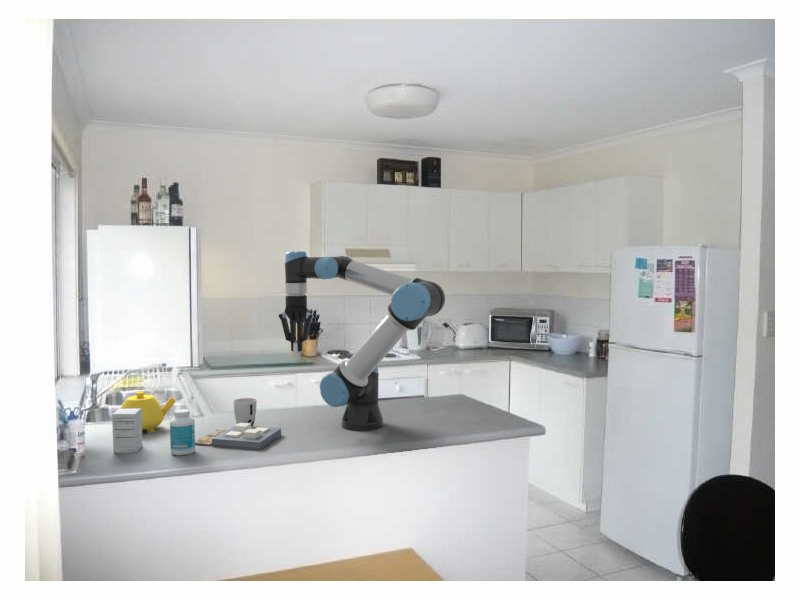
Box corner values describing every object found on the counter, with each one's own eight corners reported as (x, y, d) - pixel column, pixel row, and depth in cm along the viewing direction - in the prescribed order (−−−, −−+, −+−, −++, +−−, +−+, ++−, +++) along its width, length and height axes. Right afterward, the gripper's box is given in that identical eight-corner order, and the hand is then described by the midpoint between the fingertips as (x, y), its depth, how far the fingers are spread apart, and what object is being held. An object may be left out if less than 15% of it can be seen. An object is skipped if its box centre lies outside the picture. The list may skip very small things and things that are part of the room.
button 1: (242, 439, 232) (242, 431, 232) (236, 443, 228) (236, 435, 228) (231, 438, 233) (230, 431, 233) (225, 442, 229) (225, 434, 229)
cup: (251, 431, 245) (250, 403, 244) (230, 430, 247) (229, 402, 246) (260, 425, 253) (260, 398, 252) (239, 424, 254) (239, 397, 254)
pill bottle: (198, 453, 219) (197, 411, 218) (174, 457, 215) (173, 414, 214) (191, 447, 225) (190, 406, 224) (167, 451, 221) (166, 409, 220)
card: (233, 432, 244) (233, 430, 244) (209, 446, 227) (209, 443, 227) (217, 431, 245) (217, 429, 245) (192, 444, 229) (192, 442, 229)
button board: (281, 435, 240) (281, 428, 239) (260, 449, 223) (260, 442, 223) (235, 432, 243) (235, 425, 243) (212, 446, 227) (211, 438, 227)
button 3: (260, 437, 231) (260, 429, 231) (255, 440, 227) (255, 432, 226) (249, 436, 232) (249, 428, 231) (243, 439, 228) (243, 432, 227)
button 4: (269, 435, 237) (268, 428, 237) (263, 438, 233) (263, 431, 233) (257, 434, 238) (257, 427, 238) (252, 438, 234) (252, 430, 234)
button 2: (251, 430, 239) (251, 423, 238) (245, 434, 235) (245, 426, 234) (239, 430, 240) (239, 422, 239) (234, 433, 236) (234, 425, 235)
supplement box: (119, 446, 227) (118, 408, 226) (143, 445, 227) (142, 407, 226) (112, 453, 219) (111, 413, 218) (136, 452, 220) (135, 413, 219)
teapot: (175, 421, 258) (174, 385, 257) (178, 432, 244) (177, 393, 243) (117, 426, 251) (116, 389, 250) (117, 438, 237) (115, 398, 236)
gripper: (317, 294, 249) (317, 359, 251) (283, 293, 252) (283, 358, 254) (309, 295, 241) (310, 362, 243) (274, 295, 244) (275, 361, 246)
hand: (296, 360), depth 248 cm, fingers closed
